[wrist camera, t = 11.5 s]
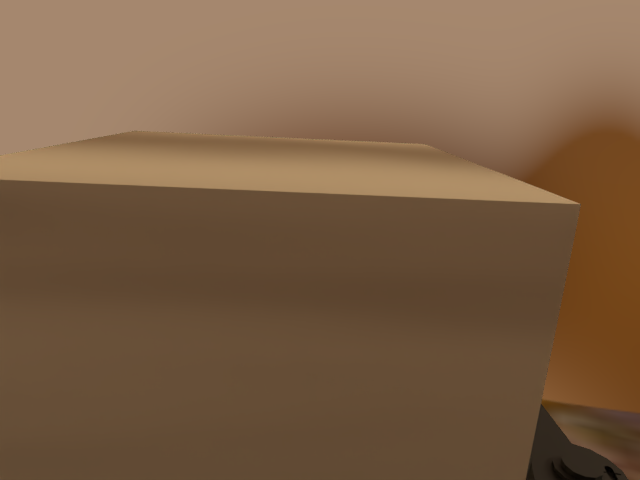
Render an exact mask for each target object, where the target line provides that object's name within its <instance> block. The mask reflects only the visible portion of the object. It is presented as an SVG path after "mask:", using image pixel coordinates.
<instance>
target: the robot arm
mask: <svg viewBox="0 0 640 480" xmlns="http://www.w3.org/2000/svg"><path fill="white" fill-rule="evenodd" d="M526 480H628V479H627V477H626V476H625V474H624V473H623V471H622V470H620V469H619V468H618V467H617V466H616V465H614V464H613V463H612V462H611V461H609V460H608V459H607V458H605V457H603V456H601V455H599V454H597V453H595V452H594V451H592V450H590V449H587V448H584V447H580V446H577V445H574V444H571V442H570V441H569V440H568V438H567V437H566V436H565V434H564V433H563V432H562V431H561V429H560V428H559V427H558V425H557V424H556V423H555V421H554V420H553V419H552V417H551V416H550V415H549V414H548V412H547V411H546V410H545V408H544V407H543V406H542V404H541V405H540V410H539V415H538V420H537V425H536V430H535V435H534V440H533V445H532V450H531V455H530V460H529V465H528V470H527V475H526Z"/></svg>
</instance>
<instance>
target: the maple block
mask: <svg viewBox="0 0 640 480" xmlns="http://www.w3.org/2000/svg"><path fill="white" fill-rule="evenodd" d="M580 205H581V204H579V203H576V202H574V201H571V200H568V199H566V198H563V197H561V196H558V195H556V194H553V193H550V192H548V191H545V190H543V189H540V188H537V187H535V186H532V185H529V184H527V183H524V182H522V181H519V180H516V179H514V178H511V177H509V176H506V175H504V174H501V173H498V172H496V171H493V170H491V169H488V168H486V167H483V166H480V165H478V164H475V163H473V162H470V161H467V160H465V159H462V158H460V157H457V156H454V155H452V154H449V153H447V152H444V151H442V150H439V149H436V148H434V147H431V146H429V145H426V144H406V143H383V142H363V141H342V140H320V139H298V138H277V137H255V136H234V135H212V134H190V133H169V132H148V131H147V132H146V131H132V132H126V133H120V134H115V135H109V136H104V137H98V138H93V139H88V140H83V141H77V142H71V143H66V144H61V145H55V146H49V147H44V148H39V149H33V150H27V151H22V152H16V153H11V154H6V155H0V480H526V475H527V470H528V465H529V460H530V455H531V450H532V445H533V440H534V435H535V430H536V425H537V420H538V415H539V410H540V405H541V400H542V395H543V390H544V385H545V380H546V375H547V370H548V365H549V360H550V355H551V350H552V345H553V340H554V335H555V330H556V325H557V321H558V316H559V310H560V306H561V300H562V296H563V291H564V285H565V281H566V276H567V270H568V266H569V260H570V256H571V251H572V245H573V240H574V236H575V230H576V225H577V221H578V215H579V211H580Z"/></svg>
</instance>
